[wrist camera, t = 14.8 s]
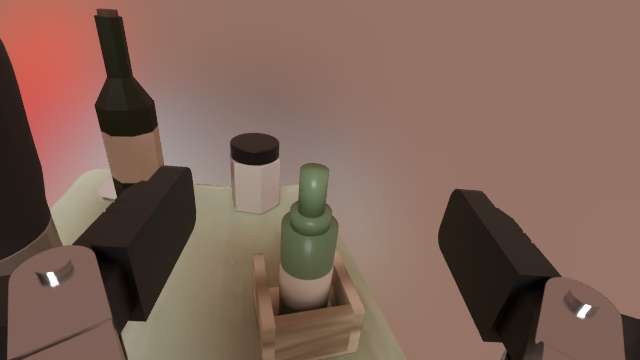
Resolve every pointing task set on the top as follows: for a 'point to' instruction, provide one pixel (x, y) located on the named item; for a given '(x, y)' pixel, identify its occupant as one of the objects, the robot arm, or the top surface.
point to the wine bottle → (125, 110)
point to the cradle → (308, 319)
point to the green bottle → (307, 245)
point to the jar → (255, 172)
